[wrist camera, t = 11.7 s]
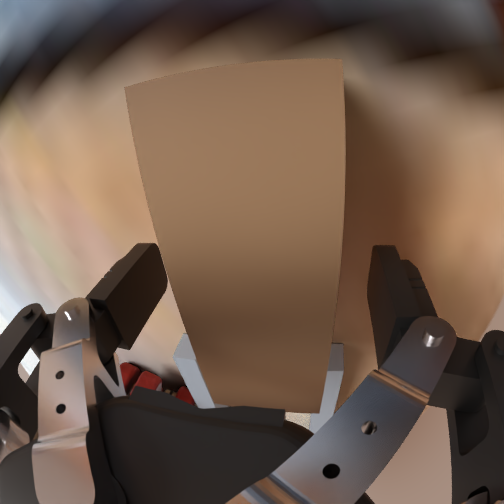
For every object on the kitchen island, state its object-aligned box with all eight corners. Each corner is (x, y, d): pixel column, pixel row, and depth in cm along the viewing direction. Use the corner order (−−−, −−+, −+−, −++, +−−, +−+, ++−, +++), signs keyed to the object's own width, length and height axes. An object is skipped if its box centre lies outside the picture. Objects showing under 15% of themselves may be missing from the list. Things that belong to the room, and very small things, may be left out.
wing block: (209, 79, 10) (124, 87, 5) (325, 71, 9) (342, 59, 4) (242, 311, 17) (214, 403, 12) (323, 315, 16) (319, 413, 11)
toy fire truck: (205, 373, 21) (160, 497, 12) (188, 423, 28) (159, 504, 19) (122, 339, 21) (60, 449, 12) (130, 400, 28) (94, 476, 19)
